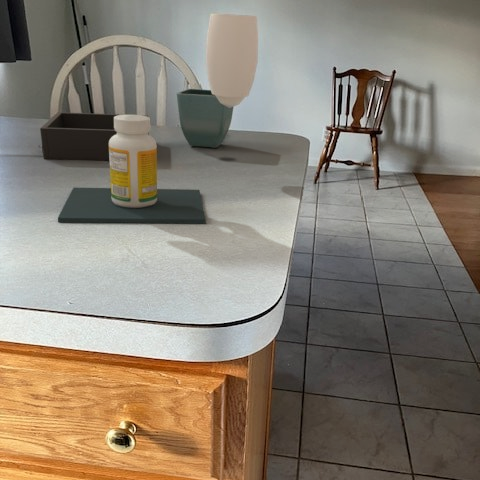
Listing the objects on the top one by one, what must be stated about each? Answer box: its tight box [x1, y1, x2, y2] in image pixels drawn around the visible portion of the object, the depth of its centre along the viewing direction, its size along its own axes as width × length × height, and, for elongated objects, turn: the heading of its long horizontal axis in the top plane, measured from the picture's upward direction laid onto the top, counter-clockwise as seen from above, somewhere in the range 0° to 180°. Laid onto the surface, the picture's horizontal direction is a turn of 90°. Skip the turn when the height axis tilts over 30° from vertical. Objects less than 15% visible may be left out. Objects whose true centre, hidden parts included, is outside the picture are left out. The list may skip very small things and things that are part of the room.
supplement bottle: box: [108, 114, 158, 208], centre depth 62 cm, size 5×5×10 cm
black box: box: [39, 111, 150, 161], centre depth 90 cm, size 16×16×4 cm
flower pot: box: [176, 88, 235, 149], centre depth 96 cm, size 9×9×9 cm
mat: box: [57, 187, 207, 225], centre depth 65 cm, size 16×12×1 cm
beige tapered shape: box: [205, 12, 259, 108], centre depth 78 cm, size 7×7×21 cm
